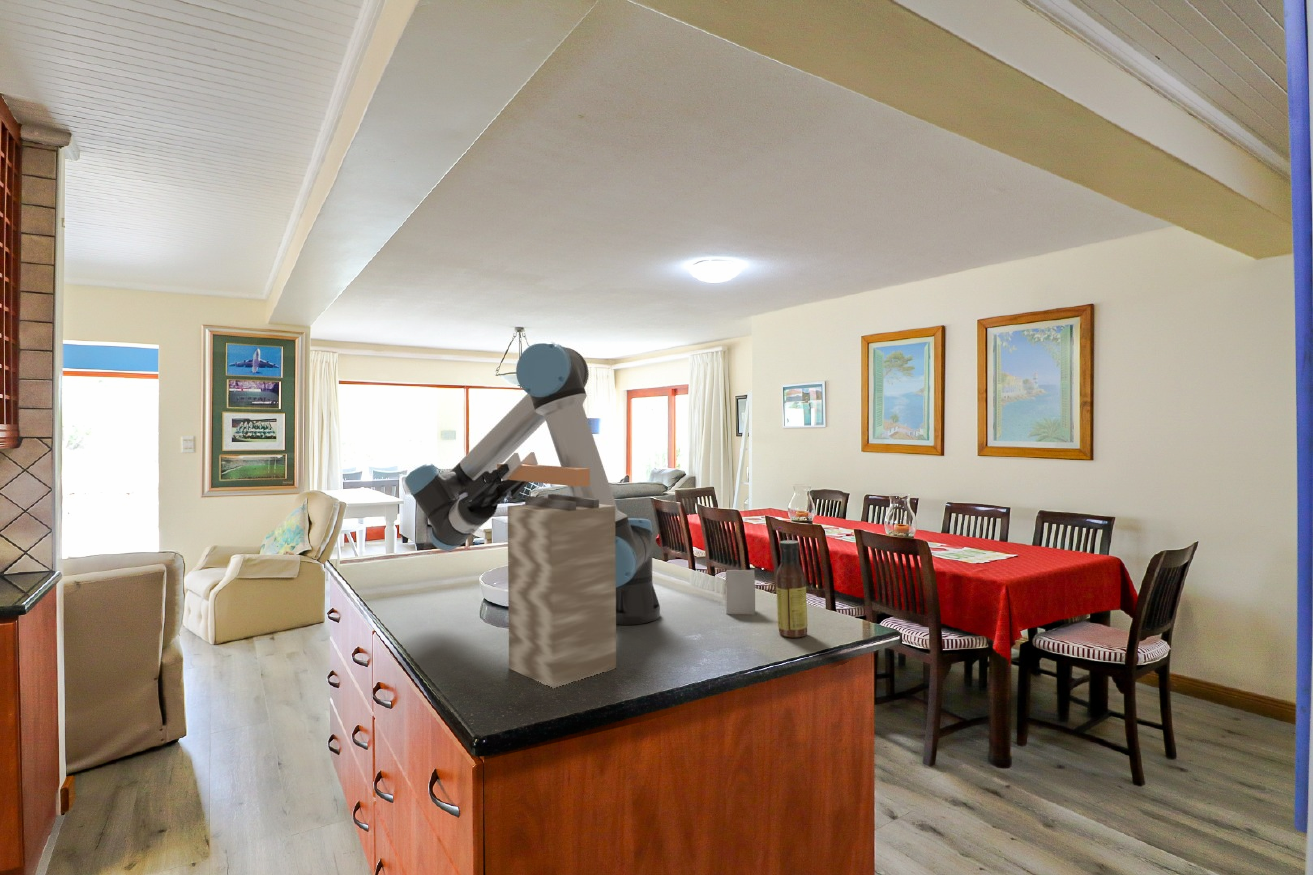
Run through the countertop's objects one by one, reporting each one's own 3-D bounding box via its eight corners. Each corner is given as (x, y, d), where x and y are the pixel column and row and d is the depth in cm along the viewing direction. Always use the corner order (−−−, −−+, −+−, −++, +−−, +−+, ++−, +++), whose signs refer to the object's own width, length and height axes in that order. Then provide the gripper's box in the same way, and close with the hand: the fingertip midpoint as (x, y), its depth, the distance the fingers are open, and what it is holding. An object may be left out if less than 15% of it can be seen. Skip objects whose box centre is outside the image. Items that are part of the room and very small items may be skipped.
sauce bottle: (810, 632, 149) (810, 540, 149) (803, 640, 144) (803, 544, 143) (780, 628, 152) (780, 538, 152) (772, 636, 147) (772, 542, 146)
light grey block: (755, 614, 164) (755, 572, 164) (726, 614, 164) (726, 571, 164) (753, 609, 168) (753, 568, 167) (725, 609, 168) (725, 568, 168)
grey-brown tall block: (509, 668, 128) (507, 498, 128) (570, 650, 138) (568, 492, 137) (553, 688, 118) (552, 504, 118) (616, 668, 128) (615, 497, 127)
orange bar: (497, 478, 140) (497, 463, 140) (509, 477, 142) (509, 463, 142) (576, 486, 122) (576, 469, 122) (589, 485, 124) (589, 468, 124)
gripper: (510, 521, 154) (565, 473, 140) (443, 529, 143) (495, 478, 128) (501, 491, 157) (554, 440, 142) (434, 496, 146) (484, 442, 131)
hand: (526, 458), depth 135 cm, fingers closed on orange bar, 3 cm apart
